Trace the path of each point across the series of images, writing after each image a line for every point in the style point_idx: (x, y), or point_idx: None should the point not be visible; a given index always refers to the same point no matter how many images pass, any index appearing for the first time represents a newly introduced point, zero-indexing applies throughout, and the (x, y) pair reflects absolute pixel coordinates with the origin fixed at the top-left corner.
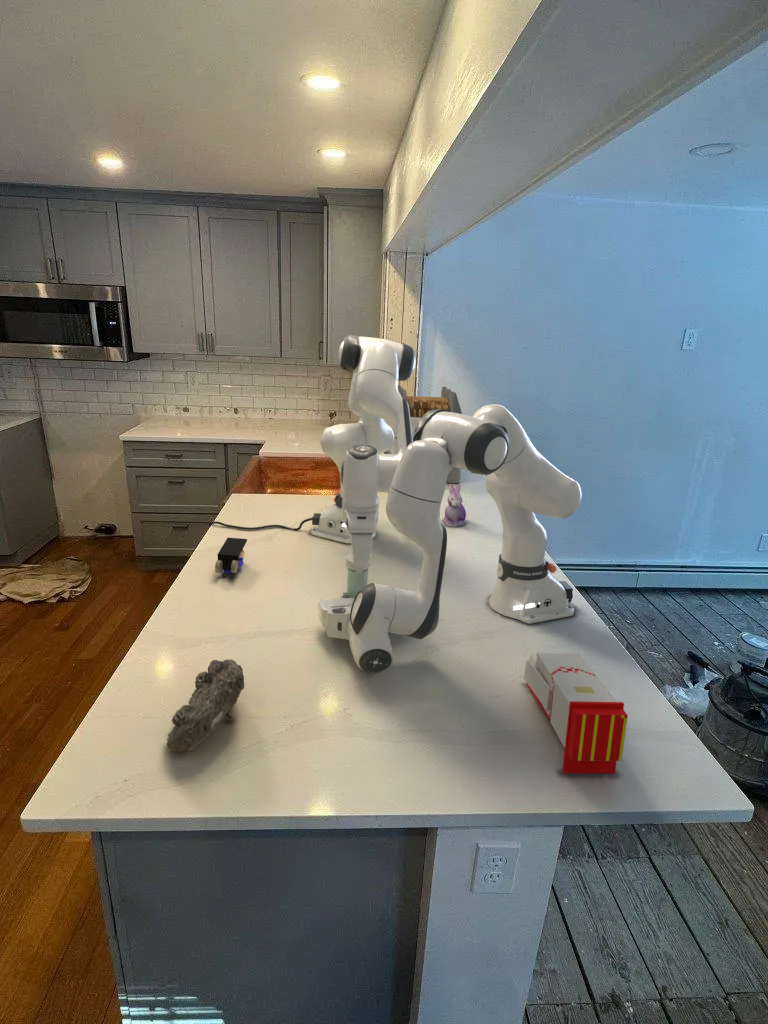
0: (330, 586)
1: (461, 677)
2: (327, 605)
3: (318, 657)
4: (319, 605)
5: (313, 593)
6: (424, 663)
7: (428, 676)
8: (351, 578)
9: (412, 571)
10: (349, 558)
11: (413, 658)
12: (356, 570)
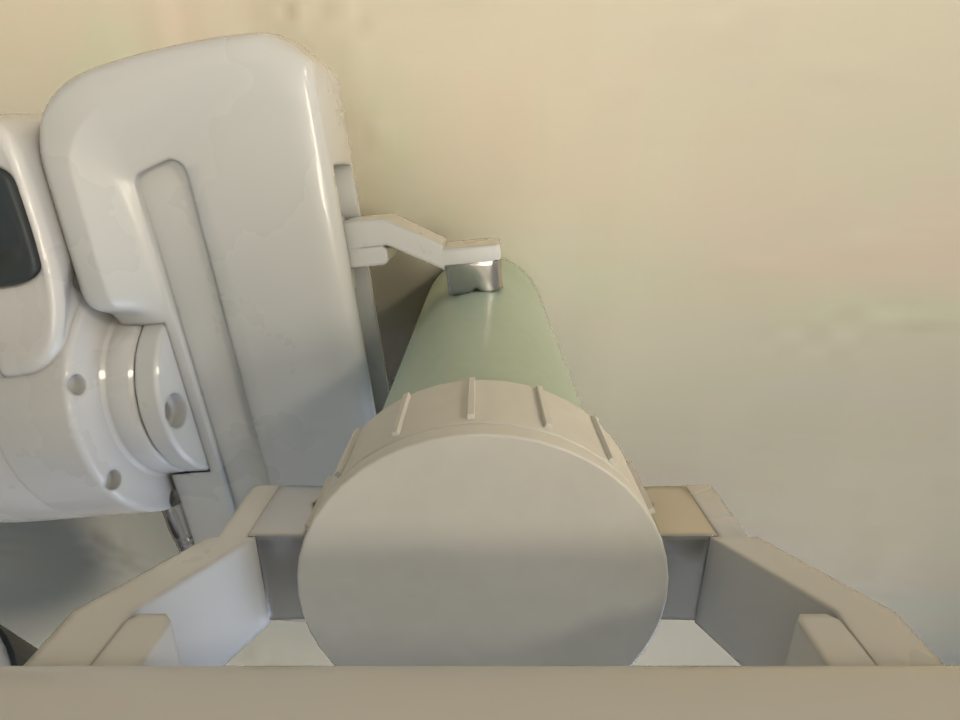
0: (880, 165)
1: None
2: (187, 124)
3: (17, 83)
4: (182, 44)
5: (804, 33)
6: (89, 571)
7: (2, 573)
8: (398, 385)
9: (932, 629)
10: (449, 476)
11: (117, 538)
12: (246, 508)
